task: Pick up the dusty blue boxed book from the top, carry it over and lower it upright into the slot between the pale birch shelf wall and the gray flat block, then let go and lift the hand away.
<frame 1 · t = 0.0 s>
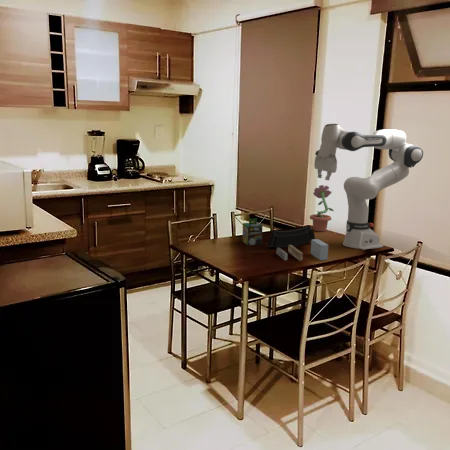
hand: (323, 179, 257), 39 cm above the table, tool pointing down, fingers open, 8 cm apart
gray flat block: (281, 253, 245), on the table
chalk box: (251, 243, 271), on the table
shelf wall: (295, 252, 247), on the table
book: (318, 256, 248), on the table
magazine: (291, 246, 268), on the table
decorative flower: (320, 230, 306), on the table
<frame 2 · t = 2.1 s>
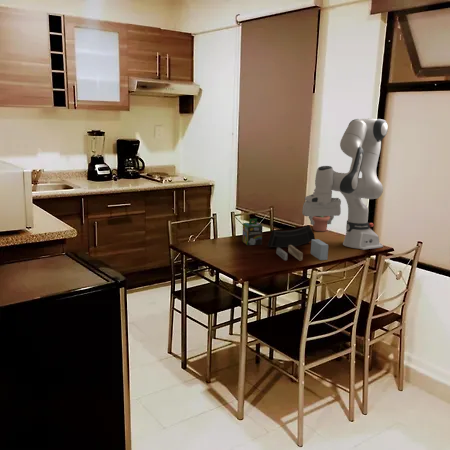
hand: (320, 224, 243), 18 cm above the table, tool pointing down, fingers open, 8 cm apart
nothing on the table moved.
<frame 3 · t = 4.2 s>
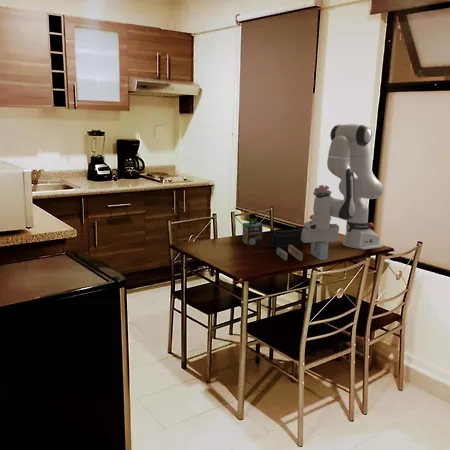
hand: (319, 250, 247), 4 cm above the table, tool pointing down, fingers closed on book, 4 cm apart
book: (318, 256, 248), on the table, touching gripper
everything else where it was.
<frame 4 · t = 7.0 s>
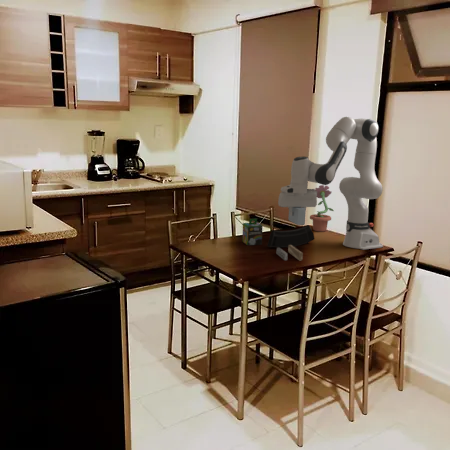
hand: (296, 215, 241), 22 cm above the table, tool pointing down, fingers closed on book, 4 cm apart
book: (296, 222, 242), point 19 cm above the table, touching gripper
everything else where it was.
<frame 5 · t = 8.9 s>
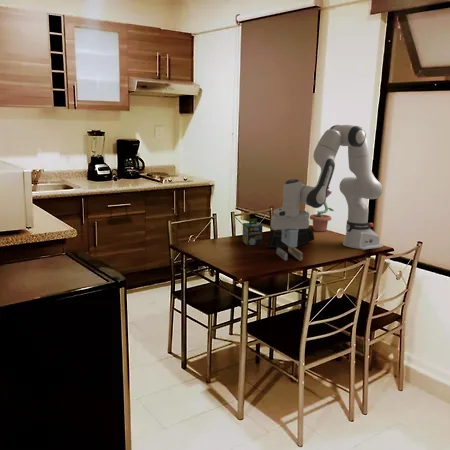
hand: (289, 237, 244), 10 cm above the table, tool pointing down, fingers closed on book, 4 cm apart
book: (289, 244, 245), point 7 cm above the table, touching gripper
everything else where it was.
when the fingers open (6 cm above the table, at t = 10.2 s): book drops 2 cm, on the table.
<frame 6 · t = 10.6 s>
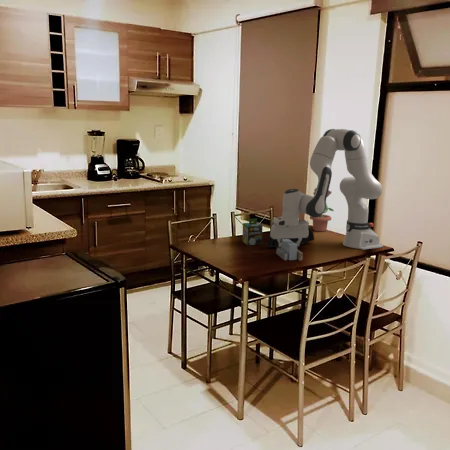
hand: (288, 246, 245), 6 cm above the table, tool pointing down, fingers open, 8 cm apart
book: (288, 256, 247), on the table
everything else where it was.
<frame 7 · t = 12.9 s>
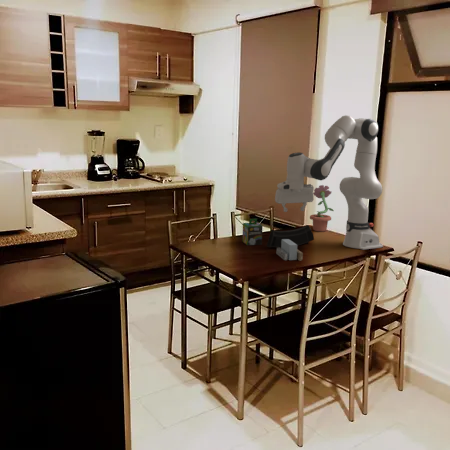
hand: (293, 211, 244), 24 cm above the table, tool pointing down, fingers open, 8 cm apart
nothing on the table moved.
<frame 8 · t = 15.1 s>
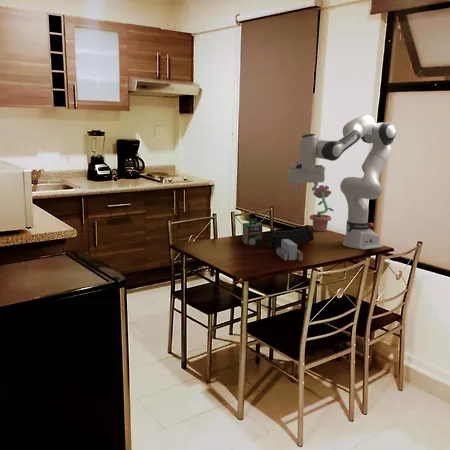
hand: (305, 190, 251), 33 cm above the table, tool pointing down, fingers open, 8 cm apart
nothing on the table moved.
at the end: book 0.1 cm from the target spot, on the table; book tilted 0°; the gripper is holding nothing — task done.
